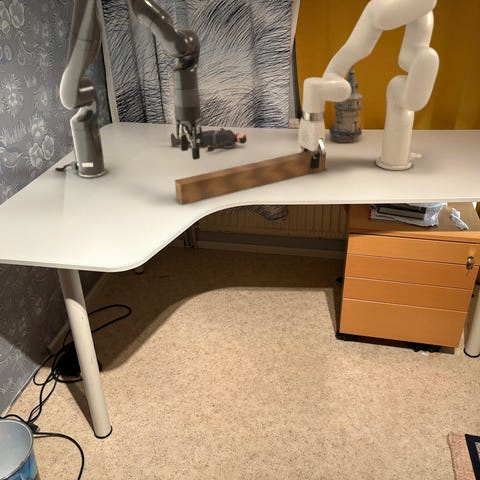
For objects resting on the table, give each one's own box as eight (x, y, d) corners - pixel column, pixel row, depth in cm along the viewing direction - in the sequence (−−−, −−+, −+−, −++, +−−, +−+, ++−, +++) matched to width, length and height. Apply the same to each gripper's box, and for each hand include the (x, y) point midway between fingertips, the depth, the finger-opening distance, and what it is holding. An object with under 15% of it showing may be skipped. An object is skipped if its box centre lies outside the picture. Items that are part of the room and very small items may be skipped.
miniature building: (330, 144, 216) (335, 67, 201) (326, 133, 228) (331, 60, 213) (363, 144, 215) (371, 67, 200) (358, 133, 227) (365, 60, 212)
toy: (183, 121, 228) (252, 121, 222) (184, 135, 231) (252, 135, 225) (163, 141, 206) (239, 141, 200) (165, 156, 209) (240, 157, 203)
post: (317, 165, 196) (318, 148, 193) (325, 169, 192) (326, 152, 189) (176, 199, 173) (174, 180, 169) (182, 204, 169) (180, 185, 166)
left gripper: (165, 98, 161) (170, 150, 169) (185, 109, 150) (188, 164, 158) (188, 95, 164) (191, 145, 172) (209, 106, 154) (211, 159, 161)
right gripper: (290, 111, 187) (288, 160, 196) (319, 123, 174) (316, 175, 183) (307, 108, 190) (305, 156, 199) (337, 120, 177) (333, 171, 186)
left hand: (190, 154), depth 165 cm, fingers open, 8 cm apart
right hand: (310, 165), depth 191 cm, fingers closed on post, 4 cm apart
